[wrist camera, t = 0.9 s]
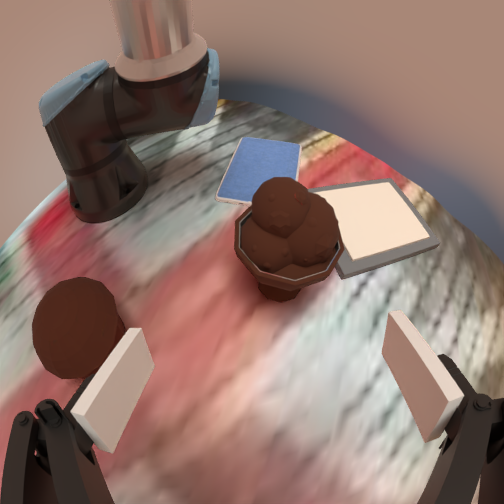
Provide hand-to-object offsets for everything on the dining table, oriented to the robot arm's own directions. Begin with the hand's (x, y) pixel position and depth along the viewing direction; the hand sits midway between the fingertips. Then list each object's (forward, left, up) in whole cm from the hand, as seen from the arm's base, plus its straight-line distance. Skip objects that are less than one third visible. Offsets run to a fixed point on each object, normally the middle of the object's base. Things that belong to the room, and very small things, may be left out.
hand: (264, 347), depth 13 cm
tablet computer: (-34, +12, -17) cm, 39 cm away
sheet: (-18, +25, -15) cm, 34 cm away
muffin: (-9, -17, -17) cm, 25 cm away
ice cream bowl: (-12, +7, -17) cm, 21 cm away
